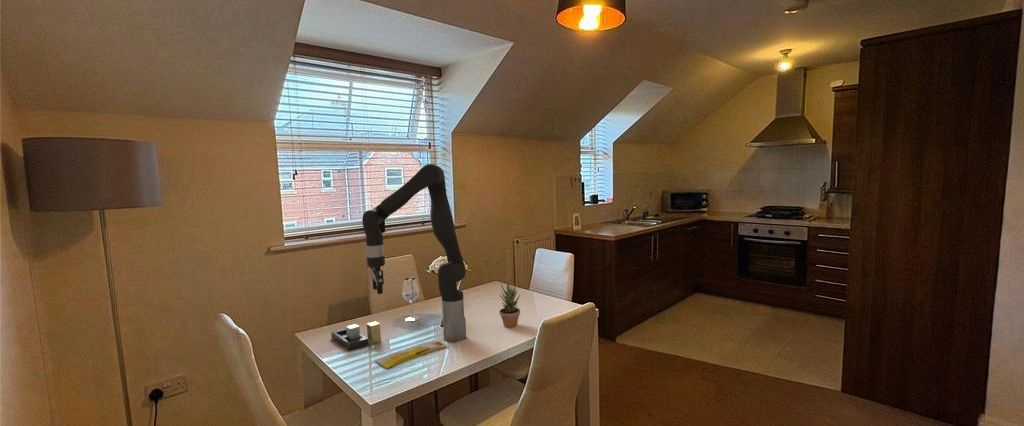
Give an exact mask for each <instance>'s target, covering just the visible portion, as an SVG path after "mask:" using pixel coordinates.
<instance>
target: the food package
mask: <svg viewBox="0 0 1024 426" xmlns="http://www.w3.org/2000/svg"><path fill="white" fill-rule="evenodd" d="M446 347H448V345H447V344H445V343H443V342H440V340H439V341H438V340H436V339H433V340H428V341H425V342H421V343H418V344H415V345H413V346H409V347H406V348H403V349H401V350H397V351H395V352H392V353H391V352H390V353H389V354H387V355H385V356H382V357H379V358H376V359H374V361H375V362H376V363H377V364H379V365H381V366H382V367H384V368H385V369H389V368H392V367H395V366H399V365H400V364H403V363H405V362H408V361H410V360H414V359H416V358H419V357H422V356H425V355H428V354H431V353H434V352H435V351H440V350H442V349H445V348H446Z"/></svg>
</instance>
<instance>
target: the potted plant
mask: <svg viewBox="0 0 1024 426" xmlns="http://www.w3.org/2000/svg"><path fill="white" fill-rule="evenodd" d="M505 276H506V277H505V281H506V290H505V289H504V287H503V284H500V287H501V289H502V290H501V291H500V292H501V294H502V295H501V294H499V296H500V298H501V299H502V301H501V303H502V307H503V308H500V310H499V312H498V313H499V316H500V317H501V320H502V323H503V327H504V328H507V329H513V328H516V327H517V326H518V322H519V318H520V317H519V316H520V315H521V309H520V308H518V306H519V305H517V304H518V303H519V301H518V300H519V299H520V296H521V294H519V295H518V297H517V298H516V296H517V294H518V290H517V284H515V286H514V285H513V284H514V283H513V281H512V283H511V287H510V280H509V275H508V274H507V273H506V274H505ZM515 298H516V299H515Z"/></svg>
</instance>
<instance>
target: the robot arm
mask: <svg viewBox="0 0 1024 426" xmlns="http://www.w3.org/2000/svg"><path fill="white" fill-rule="evenodd" d="M426 188H427V189H428V193H429V198H430V211H429V212H430V214H429V215H430V222H431V228H432V231H433V234H434V236H435V238H436V240H437V241H438V242H439V243H440V245H441V246H442V248H443V249H444V252H445V256H446V259H447V260H446V261H447V262H445V263H443V264H441V265H440V266H439V267H438V270H437V282H438V290H439V295H440V297H441V313H442V314H441V315H442V330H443V331H442V335H443V340H444V341H446V342H450V343H451V342H452V343H457V342H460V341H463V340H465V339H467V321H466V317H465V305H464V304H465V303H464V302H465V301H464V300H465V299H464V292H463V291H462V290H461V289H458V286H457V283H458V282H460V281H462V280H463V279H465V277H466V271H467V270H466V266H465V262H464V258H463V256H462V253H461V249H460V246H459V242H458V238H457V232H456V228H455V222H454V218H453V214H452V210H451V206H450V202H449V199H448V195H447V187H446V175H445V173H444V170H443V169H442V167H440V166H438V165H437V164H436V165H435V164H433V163H429V164H424V165H423V166H422V167H421V168H420V169H419V170H418V171H417V172H416V173H415V174H414V175H413V177H411V178H410V179H409V180H407V182H406V183H404V184H403V185H402V186H401V187H399V188H398V189H396V190H395V191H393V192H392V193H391V194H389V195H388V196H387V197H385V198H383V200H382V201H380V204H378V205H377V206H376V207H374V208H372V209H367V210H365V211H364V213H363V214H362V218H361V219H362V220H361V223H362V227H363V230H364V234H365V242H366V243H365V244H366V250H365V251H366V252H365V254H366V267H368V268H369V270H370V279H371V282H372V290H373V291H376V293H377V295H381V294H383V293H384V292H383V291H384V290H383V288H384V287H383V285H384V283H385V281H384V280H385V279H384V270H382V269H381V267H384V266H385V265H386V258H385V257H386V256H385V247H384V235H383V232H382V231H381V229H380V225H379V224H381V223H383V222H384V221H385V220H387V219H388V218H389V217H390V216H391V215H392V214H394V213H396V212H397V211H398V210H400V209H401V208H403V207H404V206H405V205H406V204H407V203H408V202H410V200H411V199H412V198H413V197H414V196H415V195H416V194H418V193H419V192H421V191H422V190H424V189H426Z"/></svg>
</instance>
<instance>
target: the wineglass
mask: <svg viewBox="0 0 1024 426" xmlns="http://www.w3.org/2000/svg"><path fill="white" fill-rule="evenodd" d="M419 295H420V291H419V285H418V281H417V278H416V277H406V278H404V279H403V285H402V297H403V298H404V300H405V301H406V302H408V303H409V304H410V316H406V317H405V318H404V321H405V322H414V321H418V320H420V318H421V316H420V315H414V313H413V302H415V301H416V300H417V299H418V298H419Z"/></svg>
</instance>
